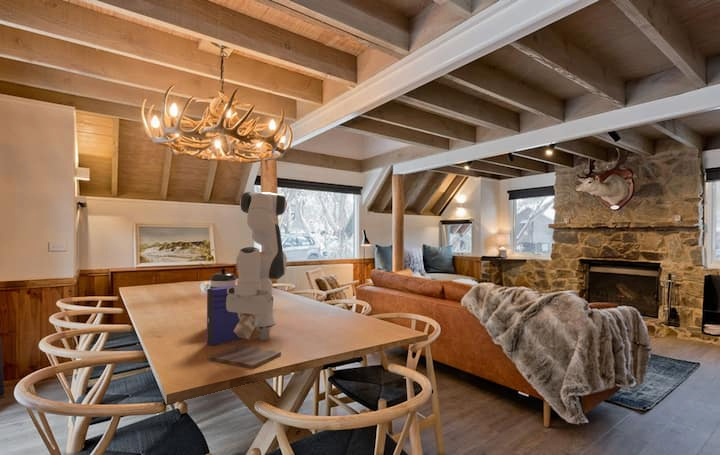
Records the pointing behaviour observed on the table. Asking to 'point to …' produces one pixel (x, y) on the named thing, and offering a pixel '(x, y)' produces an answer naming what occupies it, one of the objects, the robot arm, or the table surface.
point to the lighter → (263, 333)
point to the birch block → (245, 326)
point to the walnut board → (244, 356)
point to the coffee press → (222, 279)
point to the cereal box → (220, 318)
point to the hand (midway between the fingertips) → (249, 325)
